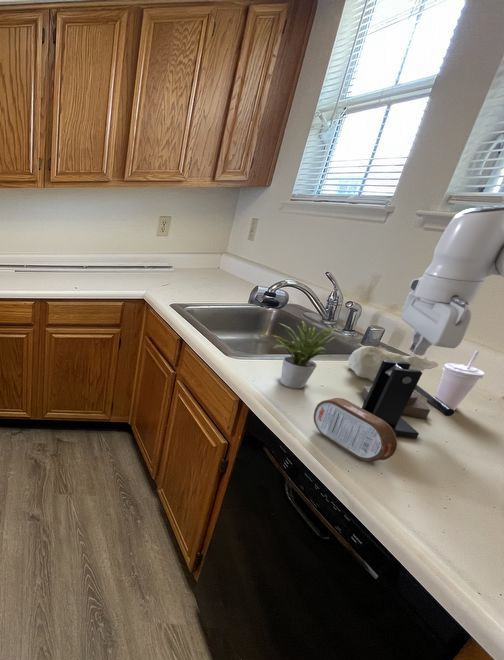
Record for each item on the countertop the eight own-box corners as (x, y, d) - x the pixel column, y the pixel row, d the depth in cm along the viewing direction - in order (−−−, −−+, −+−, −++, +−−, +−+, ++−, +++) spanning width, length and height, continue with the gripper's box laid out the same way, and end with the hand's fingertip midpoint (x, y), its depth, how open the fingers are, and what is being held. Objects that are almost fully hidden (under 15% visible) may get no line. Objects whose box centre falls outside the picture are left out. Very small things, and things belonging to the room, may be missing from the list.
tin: (387, 469, 76) (407, 430, 72) (373, 471, 75) (392, 432, 71) (317, 425, 89) (331, 390, 85) (305, 426, 88) (318, 391, 85)
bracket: (395, 418, 92) (423, 361, 86) (416, 438, 85) (448, 378, 79) (337, 411, 94) (360, 355, 88) (353, 430, 87) (380, 370, 81)
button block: (412, 402, 98) (420, 387, 97) (426, 418, 92) (434, 402, 90) (360, 393, 102) (366, 379, 100) (369, 408, 96) (376, 393, 94)
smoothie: (469, 415, 93) (503, 358, 87) (433, 410, 95) (463, 354, 89) (453, 402, 99) (483, 347, 92) (419, 397, 100) (447, 343, 94)
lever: (429, 405, 88) (440, 398, 86) (446, 419, 83) (458, 411, 82) (380, 368, 87) (391, 360, 86) (394, 380, 82) (406, 371, 81)
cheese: (326, 376, 115) (373, 362, 101) (332, 353, 117) (380, 336, 102) (381, 398, 114) (437, 387, 99) (387, 374, 115) (442, 360, 101)
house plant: (292, 368, 115) (311, 311, 108) (341, 390, 103) (366, 328, 96) (250, 373, 112) (267, 315, 105) (295, 398, 100) (318, 334, 93)
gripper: (494, 305, 75) (456, 374, 82) (445, 282, 92) (416, 340, 98) (448, 301, 78) (415, 367, 84) (409, 278, 95) (383, 335, 101)
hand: (415, 352), depth 91 cm, fingers closed
